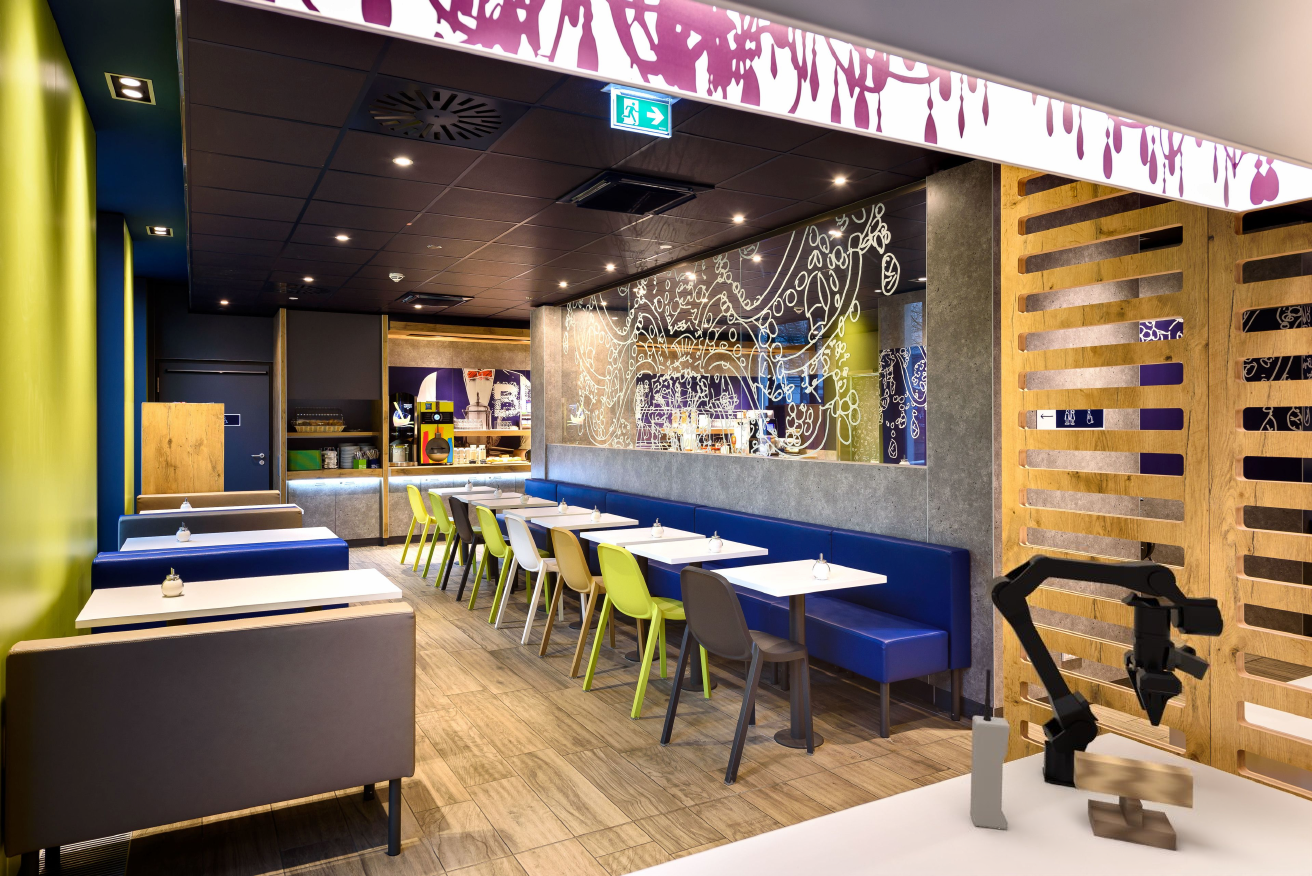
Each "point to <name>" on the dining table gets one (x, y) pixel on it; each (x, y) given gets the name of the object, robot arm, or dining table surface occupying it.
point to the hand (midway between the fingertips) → (1149, 717)
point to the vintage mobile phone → (988, 766)
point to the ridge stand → (1131, 823)
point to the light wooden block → (1133, 779)
